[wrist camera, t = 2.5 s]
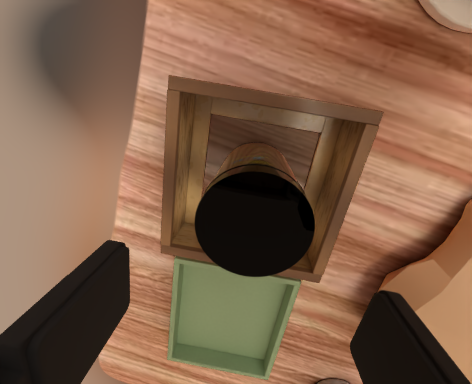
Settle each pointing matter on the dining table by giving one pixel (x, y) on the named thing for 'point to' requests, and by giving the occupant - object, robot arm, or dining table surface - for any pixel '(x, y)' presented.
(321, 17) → the dining table surface
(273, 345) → the tray
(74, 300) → the robot arm
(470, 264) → the squash
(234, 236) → the supplement container
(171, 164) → the brown wooden square frame
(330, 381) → the travel mug
